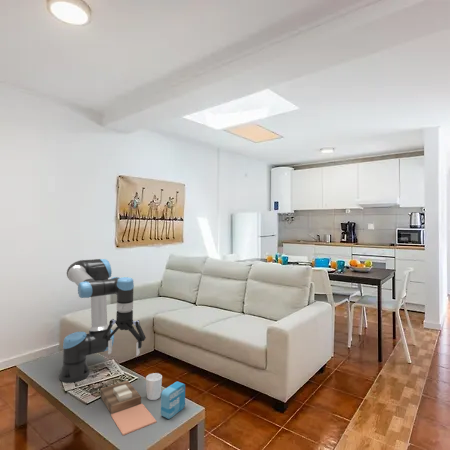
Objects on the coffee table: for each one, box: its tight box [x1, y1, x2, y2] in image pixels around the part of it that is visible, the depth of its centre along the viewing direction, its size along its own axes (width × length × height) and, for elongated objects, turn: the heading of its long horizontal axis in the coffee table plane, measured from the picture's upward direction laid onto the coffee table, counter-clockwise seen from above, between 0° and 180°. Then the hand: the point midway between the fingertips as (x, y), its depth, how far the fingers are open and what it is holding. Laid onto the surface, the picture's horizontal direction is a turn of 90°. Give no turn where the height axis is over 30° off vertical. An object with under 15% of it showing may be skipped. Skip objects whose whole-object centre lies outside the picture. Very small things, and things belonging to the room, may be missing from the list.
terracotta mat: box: [110, 403, 157, 436], centre depth 144 cm, size 16×15×1 cm
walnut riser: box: [99, 380, 142, 415], centre depth 158 cm, size 18×14×4 cm
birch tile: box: [113, 384, 132, 402], centre depth 155 cm, size 9×6×2 cm, turn 37°
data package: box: [160, 381, 186, 420], centre depth 150 cm, size 12×4×12 cm, turn 147°
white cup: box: [145, 372, 163, 401], centre depth 162 cm, size 8×8×10 cm
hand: (123, 353), depth 154 cm, fingers open, 13 cm apart
